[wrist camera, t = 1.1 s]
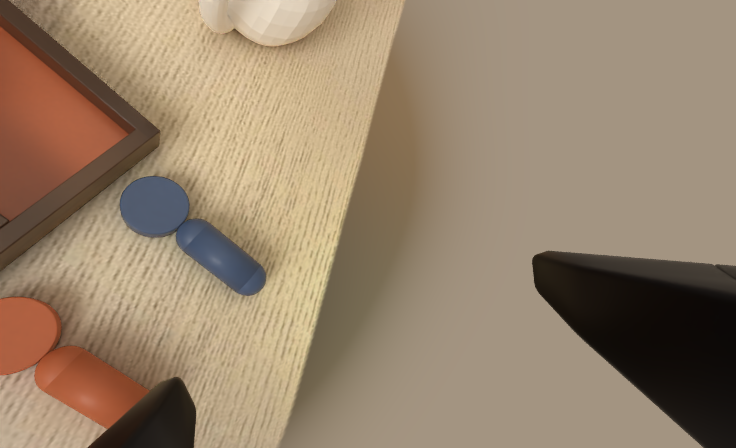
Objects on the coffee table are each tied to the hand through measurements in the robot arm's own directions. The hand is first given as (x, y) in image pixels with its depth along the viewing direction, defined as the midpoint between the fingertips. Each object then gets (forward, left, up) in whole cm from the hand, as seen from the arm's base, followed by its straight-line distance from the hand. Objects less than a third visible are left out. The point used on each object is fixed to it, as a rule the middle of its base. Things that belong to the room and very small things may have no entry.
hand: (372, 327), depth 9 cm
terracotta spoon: (-6, +5, -15) cm, 17 cm away
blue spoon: (+2, +5, -15) cm, 16 cm away
